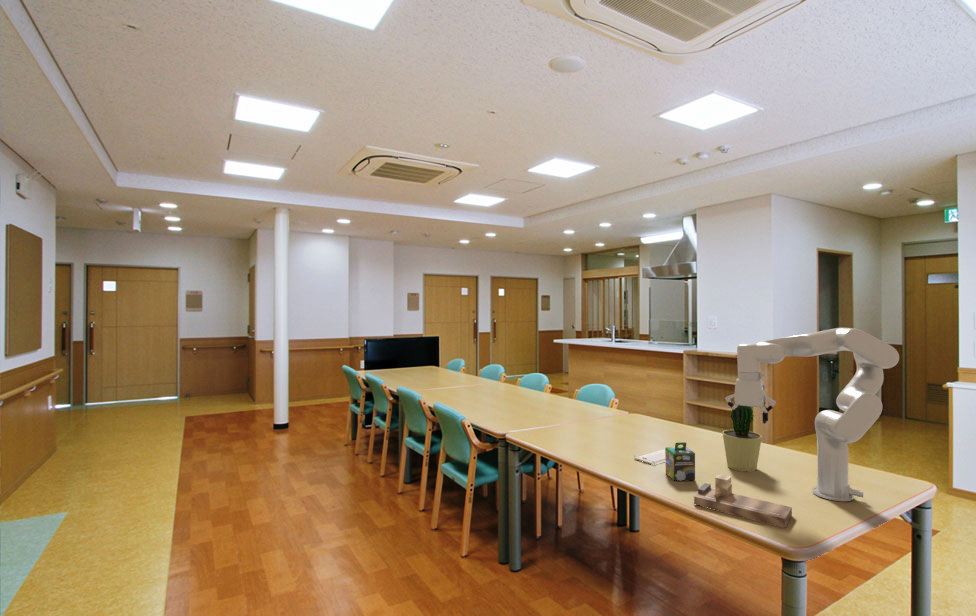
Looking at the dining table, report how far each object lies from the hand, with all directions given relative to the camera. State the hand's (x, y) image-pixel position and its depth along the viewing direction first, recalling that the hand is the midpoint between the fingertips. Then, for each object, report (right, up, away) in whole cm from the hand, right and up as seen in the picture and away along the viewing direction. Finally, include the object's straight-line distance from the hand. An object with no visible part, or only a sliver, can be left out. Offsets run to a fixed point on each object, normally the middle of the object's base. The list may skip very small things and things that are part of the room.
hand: (750, 421), depth 186 cm
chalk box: (-21, -27, +16) cm, 38 cm away
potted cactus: (+11, -27, +28) cm, 41 cm away
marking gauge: (-17, -26, -11) cm, 33 cm away
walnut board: (-12, -27, -17) cm, 34 cm away
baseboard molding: (-16, -28, +44) cm, 54 cm away
